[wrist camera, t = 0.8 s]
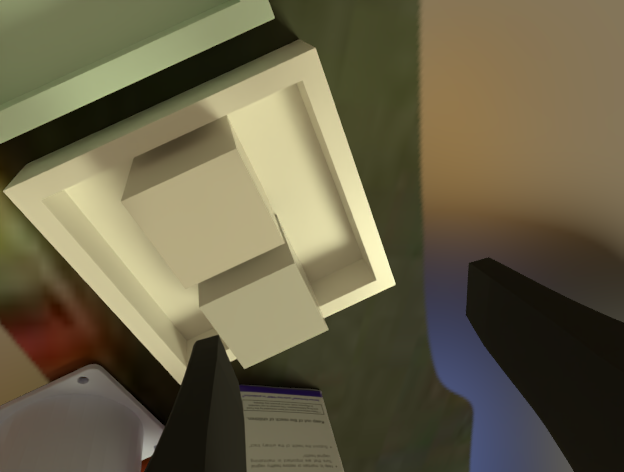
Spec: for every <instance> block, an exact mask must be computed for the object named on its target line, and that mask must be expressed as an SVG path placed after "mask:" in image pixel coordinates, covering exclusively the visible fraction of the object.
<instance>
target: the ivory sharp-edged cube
mask: <svg viewBox="0 0 624 472" xmlns="http://www.w3.org/2000/svg"><path fill="white" fill-rule="evenodd" d="M121 203H122V204H123V205H124V207H125V208H126V209H127V211H128V212H129V214H130V215H131V216H132V218H133V219H134V220H135V222H136V223H137V224H138V226H139V227H140V228H141V230H142V231H143V232H144V234H145V235H146V236H147V238H148V239H149V241H150V242H151V243H152V245H153V246H154V247H155V249H156V250H157V251H158V253H159V254H160V255H161V257H162V258H163V259H164V261H165V262H166V264H167V265H168V266H169V268H170V269H171V270H172V272H173V273H174V274H175V276H176V277H177V278H178V280H179V281H180V282H181V284H182V285H183V287H184V288H185V289H187V288H189V287H192V286H194V285H196V284H198V283H200V282H202V281H205V280H207V279H209V278H211V277H213V276H215V275H217V274H220V273H222V272H224V271H226V270H228V269H230V268H233V267H235V266H237V265H239V264H241V263H243V262H246V261H248V260H250V259H252V258H254V257H256V256H258V255H261V254H263V253H265V252H267V251H269V250H271V249H274V248H276V247H278V246H280V245H282V244H284V243H285V242H284V240H283V237H282V234H281V231H280V229H279V226H278V223H277V221H276V218H275V215H274V213H273V210H272V207H271V204H270V202H269V199H268V197H267V195H266V193H265V191H264V189H263V186H262V184H261V182H260V180H259V178H258V176H257V174H256V172H255V170H254V168H253V166H252V164H251V162H250V160H249V158H248V156H247V154H246V152H245V150H244V148H243V146H242V144H241V142H240V140H239V138H238V136H237V134H236V132H235V130H234V128H233V126H232V124H231V122H230V120H229V118H228V116H227V115H226V116H223V117H221V118H219V119H217V120H215V121H213V122H210V123H208V124H206V125H204V126H202V127H199V128H197V129H195V130H193V131H191V132H189V133H186V134H184V135H182V136H180V137H178V138H175V139H173V140H171V141H169V142H167V143H165V144H162V145H160V146H158V147H156V148H154V149H152V150H149V151H147V152H145V153H143V154H141V155H138V156H136V157H134V159H133V162H132V165H131V169H130V172H129V175H128V179H127V182H126V186H125V189H124V192H123V196H122V199H121Z"/></svg>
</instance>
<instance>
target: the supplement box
mask: <svg viewBox="0 0 624 472" xmlns="http://www.w3.org/2000/svg"><path fill="white" fill-rule="evenodd" d="M239 387H240V393H241V400H242V406H243V413H244V422H245V442H246V466H247V472H344V470H343V466H342V463H341V459H340V456H339V453H338V449H337V446H336V443H335V439H334V436H333V432H332V429H331V425H330V422H329V418H328V415H327V411H326V408H325V404H324V401H323V398H322V392H321V391H320V390H314V389H298V388H282V387H269V386H256V385H239Z"/></svg>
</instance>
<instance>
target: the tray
mask: <svg viewBox="0 0 624 472" xmlns="http://www.w3.org/2000/svg"><path fill="white" fill-rule="evenodd" d="M226 115H227V116H228V118H229V120H230V122H231V124H232V126H233V128H234V130H235V132H236V134H237V136H238V138H239V140H240V142H241V144H242V146H243V148H244V150H245V152H246V154H247V156H248V158H249V160H250V162H251V164H252V166H253V168H254V170H255V172H256V174H257V176H258V178H259V180H260V182H261V184H262V186H263V189H264V191H265V193H266V195H267V197H268V199H269V202H270V204H271V207H272V210H273V213H274V215H277V217H278V219H279V221H280V223H281V225H282V227H283V229H284V231H285V233H286V235H287V237H288V239H289V241H290V243H291V245H292V247H293V249H294V251H295V253H296V255H297V257H298V259H299V261H300V263H301V265H302V267H303V269H304V271H305V273H306V275H307V277H308V280H309V282H310V285H311V287H312V290H313V292H314V295H315V297H316V299H317V302H318V304H319V307H320V309H321V312H322V314H323V317H324V318H325V317H327V316H329V315H332V314H334V313H336V312H338V311H340V310H342V309H344V308H347V307H349V306H351V305H353V304H355V303H357V302H359V301H362V300H364V299H366V298H368V297H370V296H372V295H374V294H377V293H379V292H381V291H383V290H385V289H387V288H389V287H392V286H394V285H396V284H395V281H394V278H393V275H392V272H391V269H390V266H389V263H388V260H387V257H386V254H385V252H384V249H383V246H382V243H381V240H380V237H379V234H378V231H377V228H376V225H375V222H374V219H373V216H372V213H371V210H370V207H369V204H368V201H367V198H366V195H365V193H364V190H363V187H362V184H361V181H360V178H359V175H358V172H357V169H356V166H355V163H354V160H353V157H352V154H351V151H350V148H349V145H348V142H347V139H346V136H345V133H344V131H343V128H342V125H341V122H340V119H339V116H338V113H337V110H336V107H335V104H334V101H333V98H332V95H331V92H330V89H329V86H328V83H327V80H326V77H325V74H324V71H323V69H322V66H321V63H320V60H319V57H318V54H317V51H316V48H315V47H313V46H311V45H309V44H307V43H306V42H304V41H302V40H300V39H299V40H296V41H294V42H292V43H290V44H288V45H286V46H283V47H281V48H279V49H277V50H275V51H272V52H270V53H268V54H266V55H264V56H261V57H259V58H257V59H255V60H253V61H251V62H248V63H246V64H244V65H242V66H240V67H237V68H235V69H233V70H231V71H229V72H227V73H224V74H222V75H220V76H218V77H216V78H213V79H211V80H209V81H207V82H205V83H203V84H200V85H198V86H196V87H194V88H192V89H189V90H187V91H185V92H183V93H181V94H178V95H176V96H174V97H172V98H170V99H168V100H165V101H163V102H161V103H159V104H157V105H154V106H152V107H150V108H148V109H146V110H144V111H141V112H139V113H137V114H135V115H133V116H130V117H128V118H126V119H124V120H122V121H120V122H117V123H115V124H113V125H111V126H109V127H106V128H104V129H102V130H100V131H98V132H95V133H93V134H91V135H89V136H87V137H85V138H82V139H80V140H78V141H76V142H74V143H71V144H69V145H67V146H65V147H63V148H61V149H58V150H56V151H54V152H52V153H50V154H47V155H45V156H43V157H41V158H39V159H37V160H34V161H32V162H30V163H28V164H26V165H25V166H24V167H23V168H22V170H21V171H20V172H19V173H18V174H17V175H16V176H15V178H14V179H13V180H12V181H11V182H10V183H9V185H8V186H7V187H6V188H5V189H4V190H3V192H4V193H5V194H6V195H7V196H8V197H9V198H10V199H11V201H12V202H13V203H14V204H15V205H16V206H17V207H18V208H19V209H20V210H21V211H22V213H23V214H24V215H25V216H26V217H27V218H28V219H29V220H30V221H31V222H32V224H33V225H34V226H35V227H36V228H37V229H38V230H39V231H40V232H41V233H42V234H43V236H44V237H45V238H46V239H47V240H48V241H49V242H50V243H51V244H52V245H53V246H54V248H55V249H56V250H57V251H58V252H59V253H60V254H61V255H62V256H63V257H64V258H65V260H66V261H67V262H68V263H69V264H70V265H71V266H72V267H73V268H74V269H75V271H76V272H77V273H78V274H79V275H80V276H81V277H82V278H83V279H84V280H85V281H86V283H87V284H88V285H89V286H90V287H91V288H92V289H93V290H94V291H95V292H96V293H97V295H98V296H99V297H100V298H101V299H102V300H103V301H104V302H105V303H106V304H107V305H108V307H109V308H110V309H111V310H112V311H113V312H114V313H115V314H116V315H117V316H118V318H119V319H120V320H121V321H122V322H123V323H124V324H125V325H126V326H127V327H128V328H129V330H130V331H131V332H132V333H133V334H134V335H135V336H136V337H137V338H138V339H139V340H140V342H141V343H142V344H143V345H144V346H145V347H146V348H147V349H148V350H149V351H150V352H151V354H152V355H153V356H154V357H155V358H156V359H157V360H158V361H159V362H160V363H161V364H162V366H163V367H164V368H165V369H166V370H167V371H168V372H169V373H170V374H171V375H172V377H173V378H174V379H175V380H176V381H177V382H178V383H179V384H180V385H181V384H182V381H183V378H184V375H185V372H186V369H187V366H188V362H189V359H190V356H191V352H192V349H193V345H194V344H195V342H196V341H198V340H201V339H205V338H208V337H212V336H215V335H219V334H218V333H217V331H216V330H215V328H214V327H213V326H212V324H211V323H210V322H209V320H208V319H207V318H206V316H205V315H204V314H203V312H202V311H201V310H200V308H199V294H198V284H196V285H194V286H192V287H189V288H187V289H185V288H184V287H183V285H182V284H181V282H180V281H179V280H178V278H177V277H176V276H175V274H174V273H173V272H172V270H171V269H170V268H169V266H168V265H167V264H166V262H165V261H164V259H163V258H162V257H161V255H160V254H159V253H158V251H157V250H156V249H155V247H154V246H153V245H152V243H151V242H150V241H149V239H148V238H147V236H146V235H145V234H144V232H143V231H142V230H141V228H140V227H139V226H138V224H137V223H136V222H135V220H134V219H133V218H132V216H131V215H130V214H129V212H128V211H127V209H126V208H125V207H124V205H123V204H122V203H121V199H122V196H123V192H124V189H125V186H126V182H127V179H128V175H129V172H130V169H131V165H132V162H133V159H134V157H136V156H138V155H141V154H143V153H145V152H147V151H149V150H152V149H154V148H156V147H158V146H160V145H162V144H165V143H167V142H169V141H171V140H173V139H175V138H178V137H180V136H182V135H184V134H186V133H189V132H191V131H193V130H195V129H197V128H199V127H202V126H204V125H206V124H208V123H210V122H213V121H215V120H217V119H219V118H221V117H223V116H226ZM219 336H220V335H219ZM220 339H221V341H222V343H223V346H224V348H225V351H226V353H227V355H228V358H229V360H230V362H231V361H233V360H235V359H237V358H236V357H235V356H234V354H233V353H232V351H231V350H230V349H229V347H228V346H227V345H226V343H225V342H224V341H223V339H222V338H221V337H220Z"/></svg>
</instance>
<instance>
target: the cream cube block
mask: <svg viewBox="0 0 624 472" xmlns="http://www.w3.org/2000/svg"><path fill="white" fill-rule="evenodd" d="M275 218H276V221H277V223H278V226H279V229H280V231H281V234H282V237H283V240H284V242H285V243H284V244H282V245H280V246H278V247H276V248H274V249H271V250H269V251H267V252H265V253H263V254H261V255H258V256H256V257H254V258H252V259H250V260H248V261H246V262H243V263H241V264H239V265H237V266H235V267H233V268H230V269H228V270H226V271H224V272H222V273H220V274H217V275H215V276H213V277H211V278H209V279H207V280H205V281H202V282H200V283H198V294H199V308H200V310H201V311H202V312H203V314H204V315H205V316H206V318H207V319H208V320H209V322H210V323H211V324H212V326H213V327H214V328H215V330H216V331H217V333H218V334H219V335H220V337H221V338H222V339H223V341H224V342H225V343H226V345H227V346H228V347H229V349H230V350H231V351H232V353H233V354H234V356H235V357H236V358H237V360H238V361H239V362H240V364H241V365H242V366H243V368H244V369H246V368H248V367H250V366H252V365H254V364H257V363H259V362H261V361H263V360H265V359H267V358H269V357H272V356H274V355H276V354H278V353H280V352H282V351H284V350H287V349H289V348H291V347H293V346H295V345H297V344H299V343H302V342H304V341H306V340H308V339H310V338H312V337H314V336H317V335H319V334H321V333H323V332H325V331H327V330H329V329H328V327H327V324H326V322H325V319H324V317H323V314H322V312H321V309H320V307H319V304H318V302H317V299H316V297H315V295H314V292H313V290H312V287H311V285H310V282H309V280H308V277H307V275H306V273H305V271H304V269H303V267H302V265H301V263H300V261H299V259H298V257H297V255H296V253H295V251H294V249H293V247H292V245H291V243H290V241H289V239H288V237H287V235H286V233H285V231H284V229H283V227H282V225H281V223H280V221H279V219H278V217H277V215H275Z"/></svg>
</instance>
